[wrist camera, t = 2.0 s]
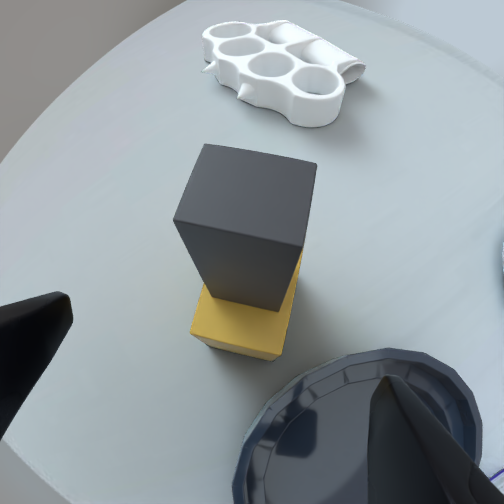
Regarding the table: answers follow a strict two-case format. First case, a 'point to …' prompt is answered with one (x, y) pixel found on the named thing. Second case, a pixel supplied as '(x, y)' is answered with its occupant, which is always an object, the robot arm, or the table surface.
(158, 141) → the table surface
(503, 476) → the supplement box
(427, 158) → the table surface
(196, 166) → the stacked two-tone block
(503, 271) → the flower in vase
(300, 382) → the bowl
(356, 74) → the knuckle duster
